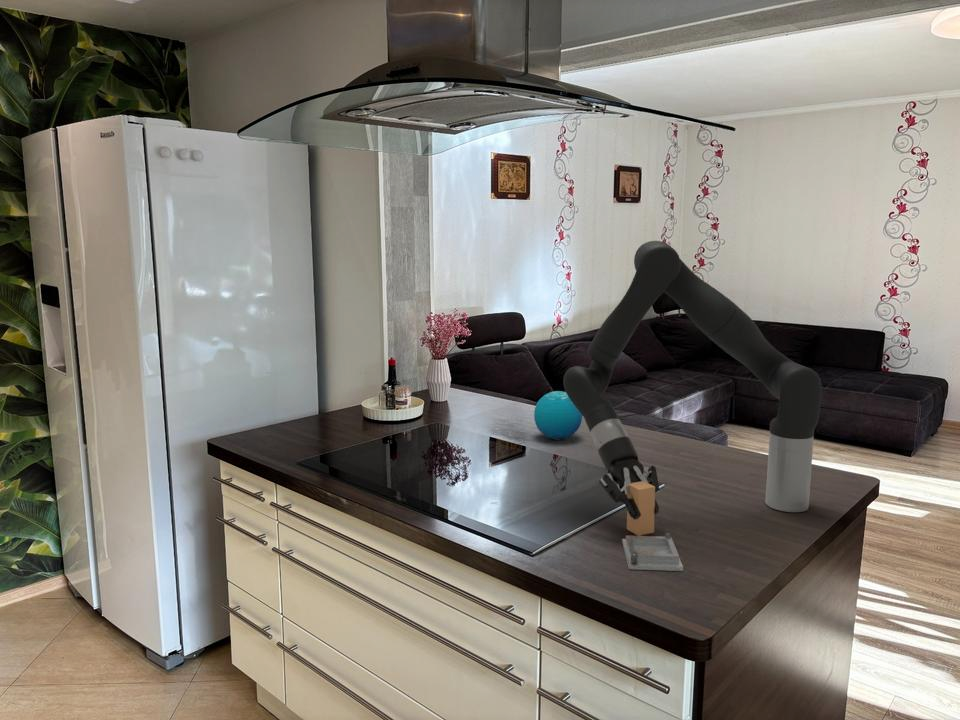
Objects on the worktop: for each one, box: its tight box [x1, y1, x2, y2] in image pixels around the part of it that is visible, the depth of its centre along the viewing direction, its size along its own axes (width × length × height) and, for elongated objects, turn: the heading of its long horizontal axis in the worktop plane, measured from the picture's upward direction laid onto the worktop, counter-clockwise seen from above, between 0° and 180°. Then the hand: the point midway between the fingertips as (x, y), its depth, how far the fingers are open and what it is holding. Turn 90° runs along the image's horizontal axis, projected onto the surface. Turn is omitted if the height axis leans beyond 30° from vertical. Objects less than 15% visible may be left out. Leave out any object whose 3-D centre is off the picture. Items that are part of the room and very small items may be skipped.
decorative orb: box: [533, 390, 583, 440], centre depth 219 cm, size 15×15×15 cm
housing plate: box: [621, 532, 684, 572], centre depth 138 cm, size 12×10×3 cm
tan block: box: [626, 481, 656, 536], centre depth 148 cm, size 4×4×10 cm
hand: (646, 515), depth 146 cm, fingers closed on tan block, 4 cm apart
